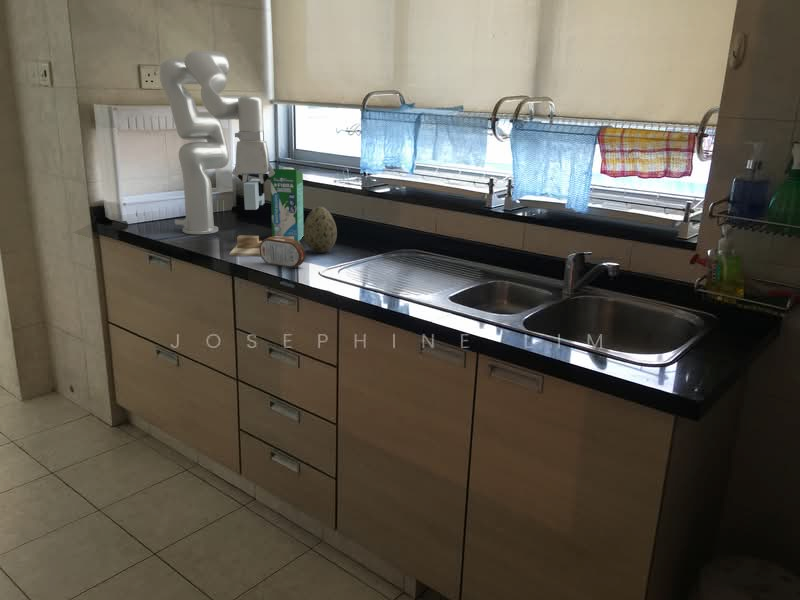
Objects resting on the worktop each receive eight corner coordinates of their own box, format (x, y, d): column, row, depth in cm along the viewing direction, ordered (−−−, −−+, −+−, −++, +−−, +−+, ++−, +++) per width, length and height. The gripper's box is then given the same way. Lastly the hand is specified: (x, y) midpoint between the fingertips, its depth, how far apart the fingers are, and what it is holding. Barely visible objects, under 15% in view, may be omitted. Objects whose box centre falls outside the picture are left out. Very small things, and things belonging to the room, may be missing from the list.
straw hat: (229, 255, 216) (229, 242, 215) (240, 242, 233) (240, 230, 232) (293, 256, 216) (292, 243, 215) (299, 244, 234) (299, 232, 232)
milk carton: (303, 236, 245) (302, 166, 238) (297, 242, 236) (296, 169, 229) (279, 235, 246) (277, 165, 238) (272, 240, 237) (270, 168, 230)
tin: (305, 267, 204) (305, 240, 202) (300, 270, 202) (299, 242, 199) (264, 261, 210) (263, 234, 208) (258, 263, 208) (257, 236, 205)
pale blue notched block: (256, 209, 214) (254, 184, 211) (244, 209, 214) (243, 183, 211) (264, 203, 227) (263, 178, 225) (254, 202, 227) (252, 178, 225)
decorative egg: (307, 247, 229) (307, 203, 224) (339, 249, 228) (339, 204, 224) (300, 255, 219) (299, 208, 214) (333, 256, 218) (333, 210, 213)
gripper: (222, 137, 211) (226, 196, 216) (276, 138, 211) (278, 197, 216) (228, 135, 218) (231, 193, 223) (280, 136, 218) (282, 194, 223)
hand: (254, 194), depth 219 cm, fingers closed on pale blue notched block, 3 cm apart
